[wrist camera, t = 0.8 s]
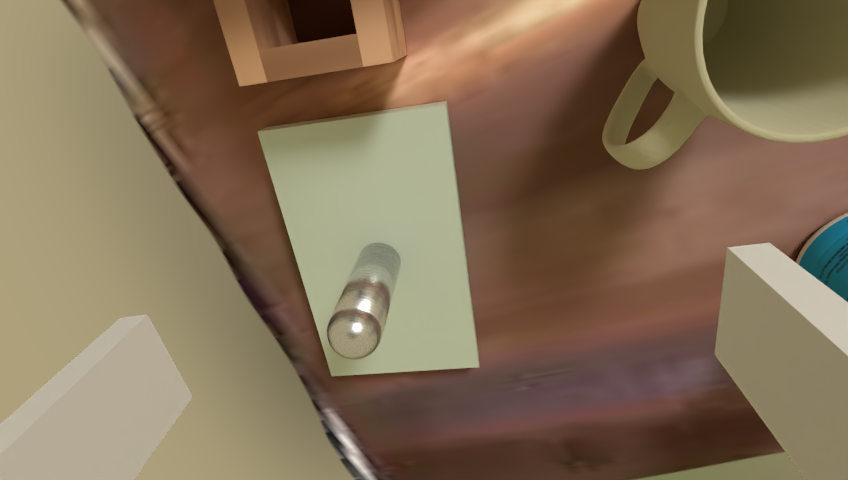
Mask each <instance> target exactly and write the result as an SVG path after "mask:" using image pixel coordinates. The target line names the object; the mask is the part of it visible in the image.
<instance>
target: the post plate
mask: <svg viewBox="0 0 848 480" xmlns="http://www.w3.org/2000/svg"><path fill="white" fill-rule="evenodd" d="M257 133H258V136H259V139H260V142H261V146H262V149H263V152H264V156H265V159H266V162H267V165H268V169H269V172H270V175H271V179H272V182H273V185H274V188H275V192H276V195H277V198H278V202H279V205H280V208H281V211H282V215H283V218H284V221H285V225H286V228H287V231H288V234H289V238H290V241H291V244H292V248H293V251H294V254H295V257H296V261H297V264H298V267H299V271H300V274H301V277H302V280H303V284H304V287H305V290H306V294H307V297H308V300H309V303H310V307H311V310H312V313H313V317H314V320H315V323H316V326H317V330H318V333H319V336H320V340H321V343H322V346H323V349H324V353H325V356H326V359H327V363H328V366H329V369H330V372H331V376H345V375H361V374H377V373H393V372H409V371H426V370H442V369H458V368H474V367H479V353H478V345H477V337H476V329H475V321H474V313H473V305H472V298H471V290H470V282H469V274H468V266H467V258H466V250H465V242H464V234H463V226H462V218H461V210H460V202H459V194H458V186H457V178H456V170H455V162H454V155H453V147H452V139H451V131H450V123H449V115H448V107H447V101H442V102H436V103H429V104H422V105H415V106H408V107H401V108H394V109H387V110H380V111H373V112H366V113H360V114H353V115H346V116H339V117H332V118H325V119H318V120H311V121H304V122H297V123H290V124H283V125H277V126H270V127H266V128H264V129H262V130H260V131H258V132H257ZM372 243H384V244H387V245H390V246H391V247H393V248H394V249H395V250H396V251H397V252H398V254H399V256H400V259H401V267H400V271H399V274H398V278H397V282H396V286H395V290H394V293H393V297H392V301H391V305H390V308H389V312H388V316H387V320H386V324H385V327H384V331H383V335H382V338H381V341H380V344H379V345H378V347H377V348H376V350H375V351H374V352H373V353H371V354H370V355H368V356H367V357H364V358H361V359H355V360H353V359H347V358H344V357H342V356H340V355H338V354H337V353H336V352H335V351H334V350H333V349H332V347H331V346H330V344H329V341H328V338H327V327H328V323H329V321H330V318H331V316H332V314H333V312H334V310H335V307H336V305H337V303H338V301H339V299H340V296H341V294H342V292H343V290H344V288H345V286H346V283H347V281H348V279H349V277H350V275H351V272H352V270H353V268H354V266H355V264H356V261H357V259H358V257H359V255H360V253H361V251H362V250H363V248H364V247H366V246H367V245H369V244H372Z"/></svg>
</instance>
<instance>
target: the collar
mask: <svg viewBox="0 0 848 480" xmlns="http://www.w3.org/2000/svg"><path fill="white" fill-rule="evenodd" d="M350 1H351V6H352V11H353V16H354V22H355V27H356V32H357V34H351V35H345V36H339V37H333V38H328V39H322V40H316V41H310V42H304V43H298V40H297V36H296V32H295V28H294V24H293V20H292V16H291V12H290V7H289V3H288V0H213V2H214V5H215V8H216V11H217V15H218V18H219V21H220V24H221V28H222V31H223V34H224V37H225V41H226V44H227V47H228V50H229V54H230V57H231V60H232V63H233V67H234V70H235V73H236V76H237V80H238V83H239V86H247V85H253V84H259V83H265V82H272V81H278V80H284V79H291V78H297V77H303V76H309V75H316V74H322V73H328V72H335V71H341V70H347V69H353V68H360V67H366V66H372V65H379V64H385V63H391V62H395V61H396V60H398V59H400V58H402V57H404V56H406V55H407V49H406V42H405V36H404V29H403V23H402V16H401V10H400V3H399V0H350Z"/></svg>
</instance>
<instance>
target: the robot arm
mask: <svg viewBox="0 0 848 480" xmlns="http://www.w3.org/2000/svg"><path fill="white" fill-rule="evenodd" d="M715 356H716V357H717V358H718V360H719V361H720V362H721V364H722V365H723V367H724V368H725V369H726V371H727V372H728V373H729V375H730V376H731V378H732V379H733V380H734V382H735V383H736V385H737V386H738V387H739V389H740V390H741V391H742V393H743V394H744V396H745V397H746V398H747V400H748V401H749V402H750V404H751V405H752V407H753V408H754V409H755V411H756V412H757V413H758V415H759V416H760V418H761V419H762V420H763V422H764V423H765V424H766V426H767V427H768V429H769V430H770V431H771V433H772V434H773V435H774V437H775V438H776V440H777V441H778V442H779V444H780V445H781V446H782V448H783V449H784V451H785V452H786V453H787V455H788V456H789V457H790V459H791V460H792V461H793V463H794V464H795V466H796V467H797V468H798V470H799V471H800V472H801V474H802V475H803V477H804V478H805V479H806V480H848V302H847V301H845V300H844V299H843V298H841V297H840V296H839V295H838V294H836V293H835V292H834V291H832V290H831V289H830V288H828V287H827V286H826V285H824V284H823V283H822V282H820V281H819V280H818V279H816V278H815V277H814V276H813V275H811V274H810V273H809V272H807V271H806V270H805V269H803V268H802V267H801V266H799V265H798V264H797V263H795V262H794V261H793V260H791V259H790V258H789V257H788V256H786V255H785V254H784V253H782V252H781V251H780V250H778V249H777V248H776V247H774V246H773V245H772V244H770V243H763V244H754V245H746V246H737V247H728V248H727V256H726V264H725V272H724V280H723V289H722V297H721V305H720V313H719V322H718V330H717V338H716V346H715ZM192 397H193V396H192V395H191V393H190V391H189V389H188V387H187V386H186V384H185V382H184V380H183V378H182V376H181V374H180V373H179V371H178V369H177V367H176V366H175V364H174V362H173V360H172V358H171V356H170V355H169V353H168V351H167V349H166V347H165V345H164V344H163V342H162V340H161V338H160V336H159V334H158V333H157V331H156V329H155V327H154V325H153V323H152V322H151V320H150V318H149V316H148V315H138V316H130V317H121V318H119V319H118V320H117V321H116V322H115V323H113V324H112V325H111V326H110V327H109V328H108V329H107V330H106V331H104V332H103V333H102V334H101V335H100V336H99V337H98V338H97V339H95V340H94V341H93V342H92V343H91V344H90V345H89V346H87V348H85V349H84V350H83V351H82V352H81V353H80V354H78V355H77V356H76V357H75V358H74V359H73V360H72V361H71V362H69V363H68V364H67V365H66V366H65V367H64V368H63V369H62V370H60V371H59V372H58V373H57V374H56V375H55V376H54V377H53V378H51V379H50V380H49V381H48V382H47V383H46V384H45V385H43V386H42V387H41V388H40V389H39V390H38V391H37V392H36V393H34V394H33V395H32V396H31V397H30V398H29V399H28V400H27V401H26V402H24V403H23V404H22V405H21V406H20V407H19V408H17V409H16V410H15V411H14V412H13V413H12V414H11V415H10V416H8V417H7V418H6V419H5V420H4V421H3V422H2V423H1V424H0V480H134V479H135V478H136V477H137V475H138V474H139V472H140V471H141V470H142V468H143V467H144V465H145V464H146V462H147V461H148V460H149V458H150V457H151V455H152V454H153V453H154V451H155V450H156V448H157V447H158V445H159V444H160V442H161V441H162V440H163V438H164V437H165V436H166V434H167V433H168V431H169V430H170V428H171V427H172V426H173V424H174V423H175V421H176V420H177V419H178V417H179V416H180V414H181V413H182V412H183V410H184V409H185V407H186V406H187V404H188V403H189V402H190V400H191V399H192Z"/></svg>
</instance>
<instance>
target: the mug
mask: <svg viewBox="0 0 848 480" xmlns="http://www.w3.org/2000/svg"><path fill="white" fill-rule="evenodd" d="M637 29H638V34H639V38H640V42H641V46H642V50H643V52H644V55H645V59H644V60H643V61H642V62H641V63H640V64H639V65H638V67H637V68H636V69H635V71H634V72H633V74H632V75H631V77H630V78H629V80H628V82H627V83H626V85H625V87H624V88H623V90H622V92H621V94H620V95H619V97H618V99H617V101H616V103H615V105H614V107H613V108H612V110H611V112H610V115H609V117H608V119H607V121H606V124H605V126H604V130H603V135H602V141H603V145H604V146H605V148H606V150H607V151H608V153H609V154H610V155H611V156H612V157H613V158H614V159H616V160H617V161H618V162H620V163H621V164H622V165H624V166H627V167H629V168H632V169H648V168H651V167H654V166H656V165H658V164H660V163H662V162H663V161H665V160H666V159H668V158H669V157H670V156H671V155H672V154H673V153H674V152H676V151H677V150H678V149H679V148H680V147H681V146H682V144H683V143H684V142H685V141H686V140H687V139H688V138H689V136H690V135H691V134H692V133H693V131H694V130H695V129H696V128H697V126H698V125H699V124H700V123H701V121H702V120H703V119H704V117H705V116H711V117H714V118H717V119H720V120H722V121H724V122H727V123H729V124H731V125H733V126H735V127H737V128H739V129H741V130H743V131H745V132H747V133H749V134H751V135H754V136H757V137H760V138H763V139H767V140H772V141H777V142H786V143H810V142H819V141H825V140H830V139H834V138H839V137H842V136H845V135H848V0H641V2H640V5H639V9H638V14H637ZM657 78H659V79H660V80H661V81H662V82H663V83H664V84H665V85H666V86H667V87H668V88H670V89H671V90H672V91H673V92H675V93H674V95H673V98H672V100H671V101H670V103H669V105H668V107H667V108H666V110H665V111H664V113H663V114H662V116H661V117H660V118H659V120H658V121H657V122H656V123H655V124H654V125H653V126H652V127H651V129H649V130H648V131H647V132H646V133H645V134H644V135H642V136H641V137H639V138H638V139H636V140H634V141H632V142H630V143H628V144H625V141H626V138H627V136H628V133H629V131H630V128H631V126H632V124H633V122H634V120H635V118H636V116H637V114H638V111H639V109H640V107H641V105H642V103H643V101H644V99H645V97H646V95H647V94H648V92H649V90H650V88H651V86H652V85H653V83H654V82H655V80H656V79H657Z"/></svg>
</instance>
